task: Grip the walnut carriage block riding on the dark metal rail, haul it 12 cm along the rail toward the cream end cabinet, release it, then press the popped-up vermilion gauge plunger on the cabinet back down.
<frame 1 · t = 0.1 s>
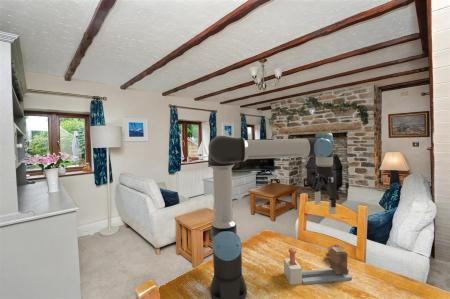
hand: (324, 208, 104), 28 cm above the table, fingers open, 13 cm apart
carriage: (338, 259, 96), point 7 cm above the table, slide at 0.0 cm
plunger: (292, 256, 95), point 10 cm above the table, slide at 3.0 cm
flower: (335, 260, 108), on the table
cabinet: (292, 278, 96), on the table
rail board: (323, 276, 96), on the table
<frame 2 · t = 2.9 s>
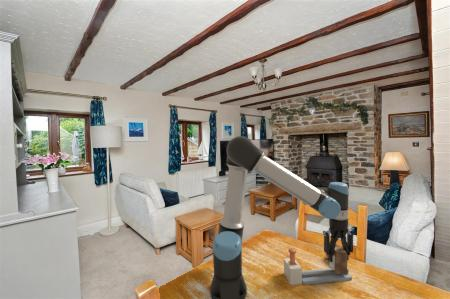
hand: (338, 267, 97), 4 cm above the table, fingers closed on carriage, 5 cm apart
carriage: (338, 259, 96), point 8 cm above the table, slide at 0.0 cm, touching gripper
everything else where it was.
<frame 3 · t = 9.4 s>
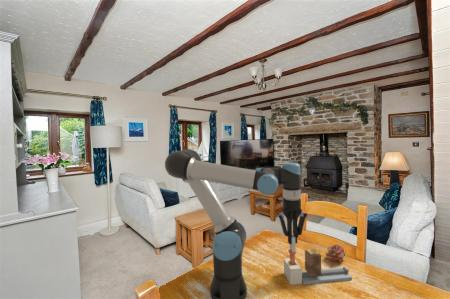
hand: (292, 250, 95), 13 cm above the table, fingers closed
carriage: (312, 261, 95), point 7 cm above the table, slide at 12.0 cm
plunger: (292, 257, 95), point 10 cm above the table, slide at 2.6 cm, touching gripper
everything else where it was.
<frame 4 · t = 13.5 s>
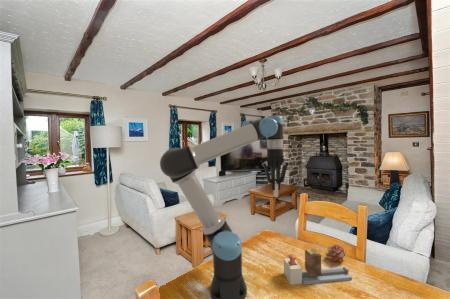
hand: (275, 196, 104), 34 cm above the table, fingers closed
plunger: (292, 262, 96), point 7 cm above the table, slide at 0.3 cm
everything else where it was.
at the end: carriage slide at 12.0 cm; plunger slide at 0.3 cm; the gripper is holding nothing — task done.
